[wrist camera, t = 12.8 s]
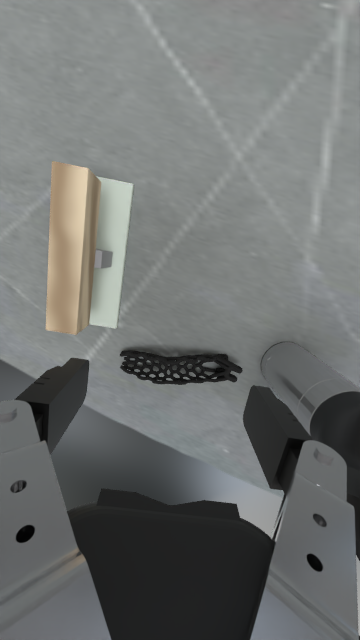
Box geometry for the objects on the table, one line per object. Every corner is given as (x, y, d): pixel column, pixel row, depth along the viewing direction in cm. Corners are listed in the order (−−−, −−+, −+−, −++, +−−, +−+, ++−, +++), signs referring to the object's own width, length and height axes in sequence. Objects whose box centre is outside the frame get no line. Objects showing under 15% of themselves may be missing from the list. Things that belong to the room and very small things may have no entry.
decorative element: (122, 368, 46) (115, 384, 41) (122, 344, 45) (115, 357, 39) (235, 374, 47) (243, 390, 42) (238, 351, 46) (247, 364, 40)
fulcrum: (134, 185, 38) (125, 170, 31) (117, 326, 44) (107, 339, 37) (70, 172, 37) (47, 154, 30) (62, 318, 43) (42, 329, 36)
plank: (101, 182, 31) (88, 168, 27) (89, 324, 36) (76, 334, 32) (70, 175, 31) (52, 160, 26) (62, 320, 36) (45, 329, 31)
